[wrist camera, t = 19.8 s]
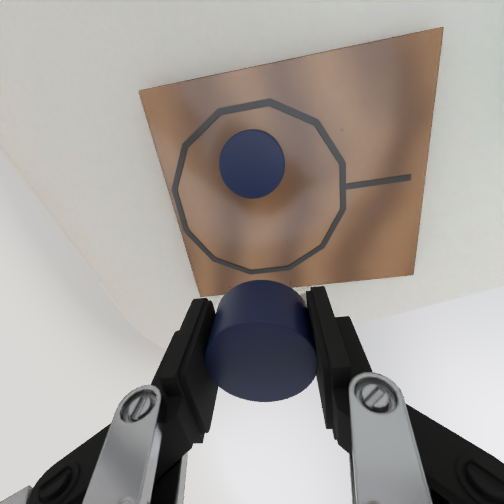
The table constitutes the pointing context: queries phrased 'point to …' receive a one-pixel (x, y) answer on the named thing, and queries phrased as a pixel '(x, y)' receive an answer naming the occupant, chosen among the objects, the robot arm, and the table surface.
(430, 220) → the table surface
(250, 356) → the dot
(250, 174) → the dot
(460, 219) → the table surface
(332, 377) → the robot arm
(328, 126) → the face mat
